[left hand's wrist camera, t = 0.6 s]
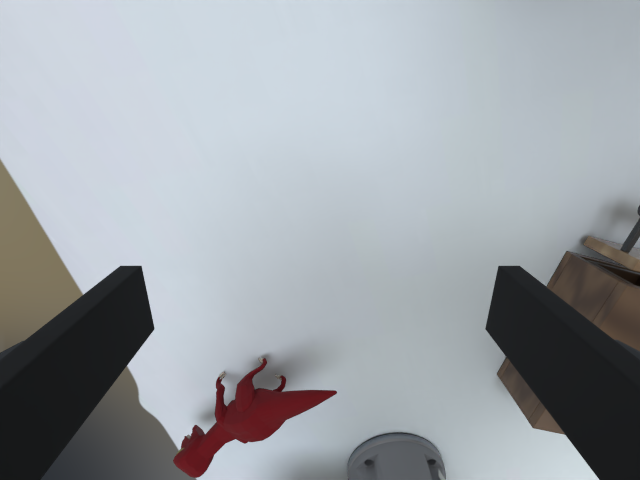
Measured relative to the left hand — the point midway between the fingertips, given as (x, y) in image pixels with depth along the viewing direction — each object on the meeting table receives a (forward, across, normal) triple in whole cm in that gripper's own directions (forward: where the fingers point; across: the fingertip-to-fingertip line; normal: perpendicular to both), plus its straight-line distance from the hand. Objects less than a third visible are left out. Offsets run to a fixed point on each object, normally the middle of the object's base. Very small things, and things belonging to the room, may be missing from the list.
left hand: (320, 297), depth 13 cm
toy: (+27, +9, +28) cm, 40 cm away
